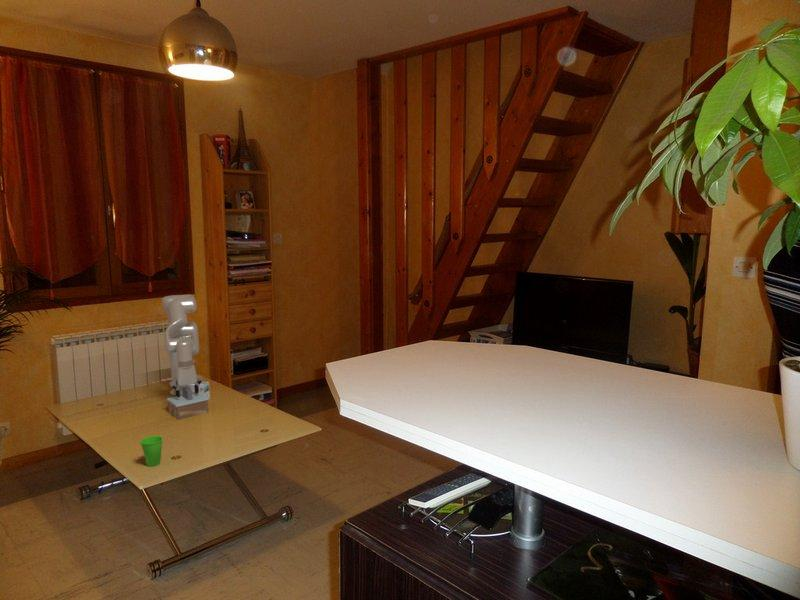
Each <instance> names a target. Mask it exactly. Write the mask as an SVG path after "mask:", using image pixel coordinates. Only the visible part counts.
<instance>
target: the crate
mask: <svg viewBox="0 0 800 600" xmlns="http://www.w3.org/2000/svg"><path fill="white" fill-rule="evenodd" d="M167 404H168V414H169V415H171V416H172V417H173V418H175V419H176V420H178V421H179V420H183V419H187V418H192V417H195V416H199V415H200V416H201V415H203V414H208V413H210V412H209V400H206V401H201V402H197V403H192V404H188V405H184V406H179V407H176V406H174V405H173V404H171V403H170V402H169V401H167Z"/></svg>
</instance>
